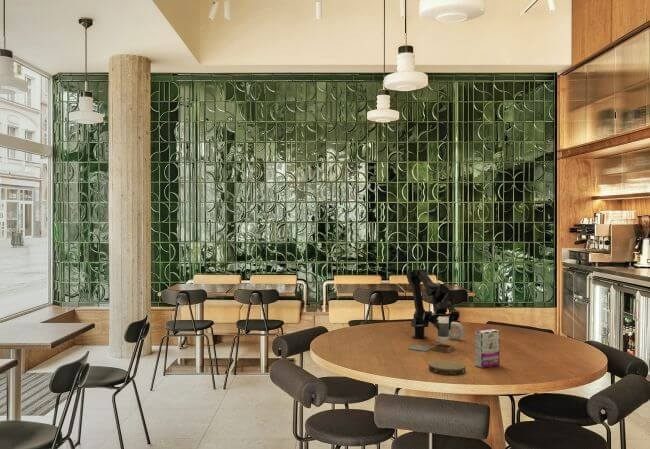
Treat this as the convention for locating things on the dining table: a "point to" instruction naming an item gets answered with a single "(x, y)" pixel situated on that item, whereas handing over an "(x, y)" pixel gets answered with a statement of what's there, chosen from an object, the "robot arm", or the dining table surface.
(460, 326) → the donut
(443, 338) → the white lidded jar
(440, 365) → the brown round disc
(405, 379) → the dining table surface
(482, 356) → the candy bar box
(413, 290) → the robot arm
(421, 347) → the charcoal mat
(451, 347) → the walnut collar
